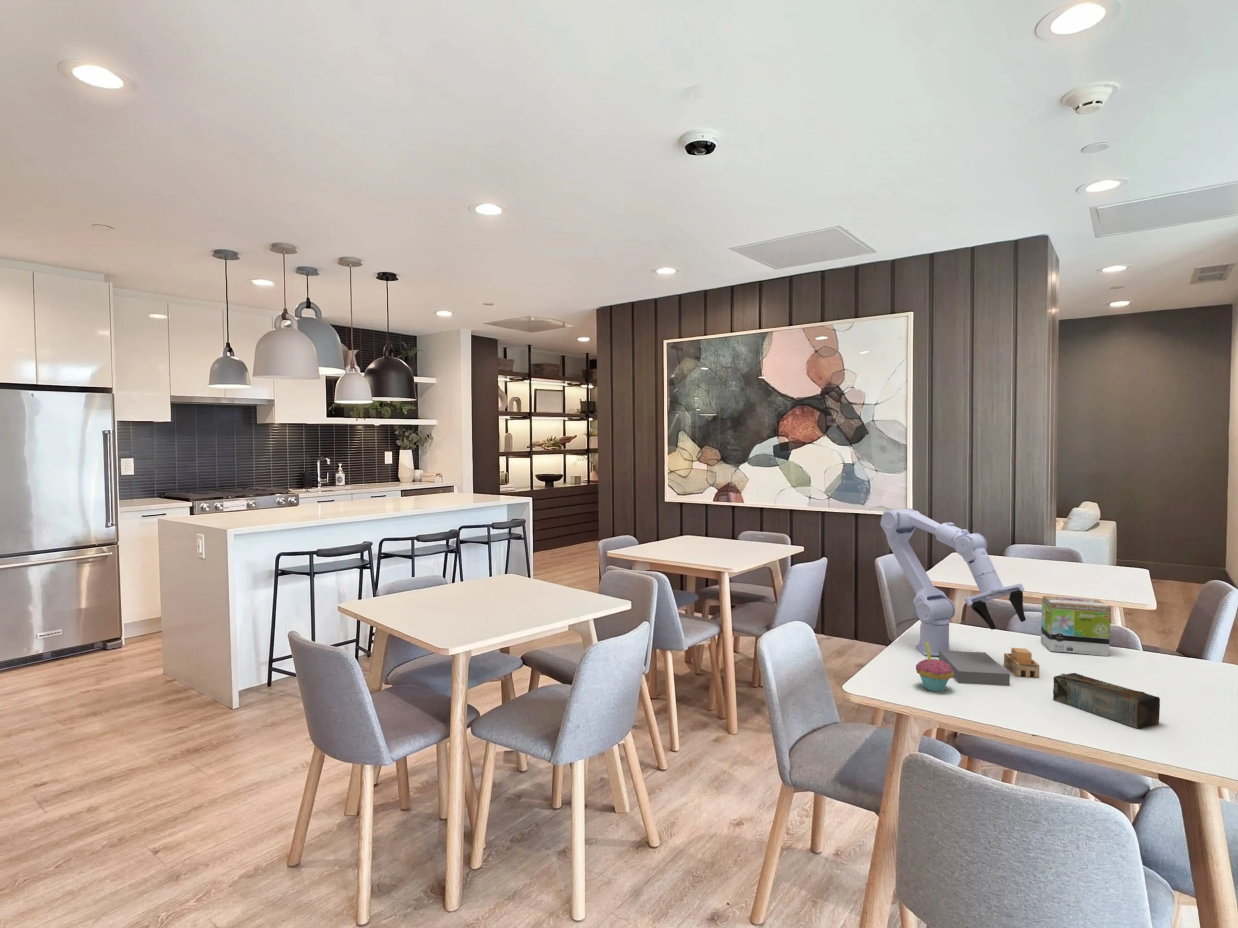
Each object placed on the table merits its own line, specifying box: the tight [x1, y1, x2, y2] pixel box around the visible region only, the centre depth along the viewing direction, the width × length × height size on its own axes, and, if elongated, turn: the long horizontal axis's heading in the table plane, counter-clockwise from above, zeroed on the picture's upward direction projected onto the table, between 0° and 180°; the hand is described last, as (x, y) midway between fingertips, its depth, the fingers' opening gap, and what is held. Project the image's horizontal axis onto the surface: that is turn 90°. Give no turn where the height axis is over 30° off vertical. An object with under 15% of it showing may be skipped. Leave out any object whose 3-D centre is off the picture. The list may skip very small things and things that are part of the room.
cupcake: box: [915, 639, 954, 692], centre depth 172 cm, size 9×8×12 cm
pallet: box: [1003, 652, 1040, 679], centre depth 184 cm, size 9×5×4 cm, turn 170°
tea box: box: [1040, 595, 1112, 657], centre depth 203 cm, size 15×10×15 cm, turn 73°
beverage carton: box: [1052, 672, 1161, 729], centre depth 157 cm, size 8×19×7 cm, turn 24°
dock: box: [938, 650, 1011, 687], centre depth 183 cm, size 18×12×3 cm, turn 169°
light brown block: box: [1010, 647, 1033, 664], centre depth 184 cm, size 4×4×3 cm
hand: (1008, 624), depth 180 cm, fingers open, 7 cm apart
